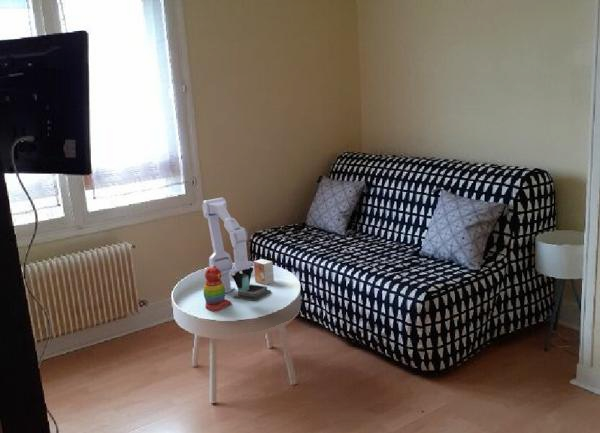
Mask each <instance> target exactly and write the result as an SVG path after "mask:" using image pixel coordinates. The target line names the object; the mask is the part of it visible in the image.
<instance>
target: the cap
mask: <svg viewBox="0 0 600 433" xmlns="http://www.w3.org/2000/svg"><path fill="white" fill-rule="evenodd" d="M247 290H249V278H248V275H247V274H244V275H243V278H242V288H241V289H240V288H237V291H247Z"/></svg>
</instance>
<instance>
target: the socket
mask: <svg viewBox="0 0 600 433" xmlns="http://www.w3.org/2000/svg"><path fill="white" fill-rule="evenodd" d="M271 293H272V290H270V289H268V287H267V286H266V285H257V284H252V283H250V284H249V290H247V291H239V290H237V294H235V295H234V299H239V300H246V301H253V302H257V301H260V300H261V299H262V298H264V297H265V296H267V295H269V294H271Z"/></svg>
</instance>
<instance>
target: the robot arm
mask: <svg viewBox="0 0 600 433" xmlns="http://www.w3.org/2000/svg"><path fill="white" fill-rule="evenodd" d="M227 207H228V206H227V201H226V199H225V198H224V197H223V196H222V197H217V198H213V199H207V200H206V199H205V200H203V202H202V205H201V209H202V213H203V217H204V218H205V219H207V223H208V228H209V234H210V240H211V245H212V250H213V252H212V254H211V255H210V256H209V258H208V261H209V262H208V268H212V267H213V266H216V268H218V269H219V270H220V272H221V273H222V276H221V278H220V279H221V280H222V283H223V285H224V288H225V295H226V294H228V293H229V292H231V291H233V290H235V289H236V287H237V289H238V288H240V289H241V288H242V278H243V275H244V274H247V275H248V278H249V284H251V282H250V281H251V277H252V273H253V272H254V261H253V260H249V259H248V248H247V241H249V233H248V231H247V229H246V228H245V227H243V226H241V225H240V224H239V223H238V221H237V220H236V218H234V217H232V216H231V215H230V213H229V211H228V209H227ZM219 218H220V219H221V220H222V221H223V222H224V223H223V227H224V228H225V229H226V231H227V233H228V235H229V239H230V242H231V246H232V247H231V248H233V259H234V263H233V260H232V258H231V254H230V253H228V252H226V251H225V248H224V242H223V238H222V232H221V226H220V221H219ZM233 264H234V265H233ZM241 272H242V273H241ZM231 277H232V278H233V280H234V282H235V285H236V287H235V286H232V284H231V283H232V282H231Z"/></svg>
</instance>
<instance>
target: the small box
mask: <svg viewBox="0 0 600 433" xmlns="http://www.w3.org/2000/svg"><path fill="white" fill-rule="evenodd" d="M253 272H254V281H255V283H258V284H262V285H263V286H266V285H269V284H272V283H275V281H274V280H275V279H274V275H275V274H274V262H273V261H272V260H266V259H264V258H260V259H257V260H254V261H253Z"/></svg>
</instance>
